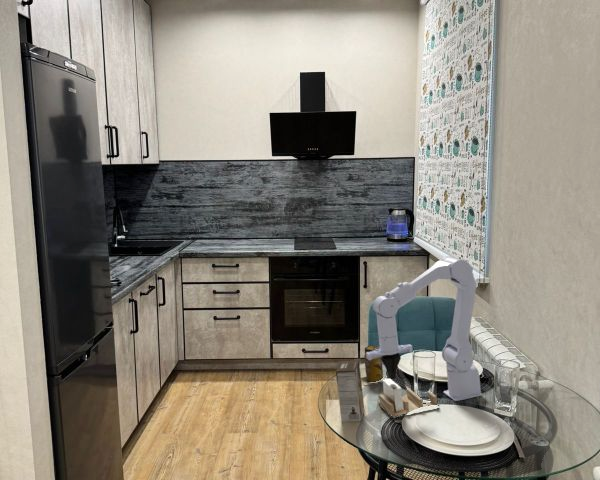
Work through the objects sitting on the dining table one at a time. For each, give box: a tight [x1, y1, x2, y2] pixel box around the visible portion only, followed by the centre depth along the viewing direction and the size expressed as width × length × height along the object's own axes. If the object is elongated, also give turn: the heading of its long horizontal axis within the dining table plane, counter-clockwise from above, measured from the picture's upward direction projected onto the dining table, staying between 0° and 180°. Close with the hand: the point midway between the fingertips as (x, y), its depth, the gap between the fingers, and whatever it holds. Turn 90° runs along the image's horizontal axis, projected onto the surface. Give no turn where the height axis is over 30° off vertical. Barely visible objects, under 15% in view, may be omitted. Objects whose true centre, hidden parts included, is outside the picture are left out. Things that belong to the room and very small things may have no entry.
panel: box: [382, 378, 404, 412], centre depth 172 cm, size 2×9×7 cm, turn 14°
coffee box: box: [335, 359, 365, 423], centre depth 171 cm, size 9×6×16 cm
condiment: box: [361, 345, 384, 386], centre depth 198 cm, size 7×8×12 cm
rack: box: [377, 388, 438, 416], centre depth 174 cm, size 15×12×4 cm
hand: (392, 377), depth 172 cm, fingers closed
